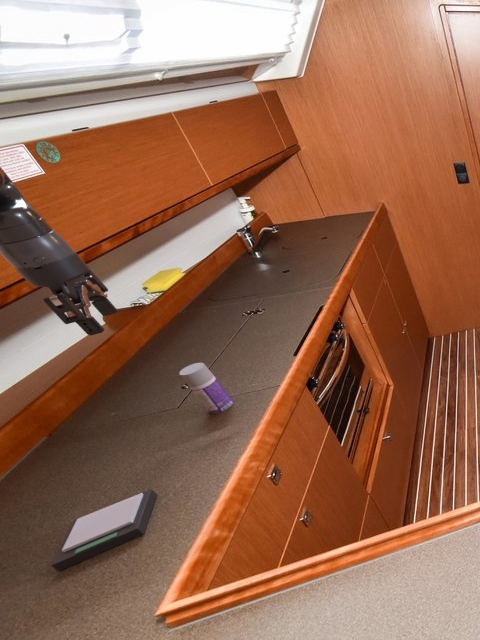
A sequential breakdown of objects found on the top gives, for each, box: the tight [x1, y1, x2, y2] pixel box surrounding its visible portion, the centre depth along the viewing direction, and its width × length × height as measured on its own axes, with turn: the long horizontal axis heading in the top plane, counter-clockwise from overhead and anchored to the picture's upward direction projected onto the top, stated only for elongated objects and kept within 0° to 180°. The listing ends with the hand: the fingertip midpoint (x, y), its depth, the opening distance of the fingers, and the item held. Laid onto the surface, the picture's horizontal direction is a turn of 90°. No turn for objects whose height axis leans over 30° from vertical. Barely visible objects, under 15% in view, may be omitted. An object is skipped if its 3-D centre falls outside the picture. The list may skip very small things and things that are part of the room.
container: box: [178, 362, 234, 414], centre depth 102 cm, size 5×5×15 cm
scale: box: [51, 488, 158, 572], centre depth 80 cm, size 11×10×3 cm
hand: (104, 323), depth 87 cm, fingers open, 8 cm apart
